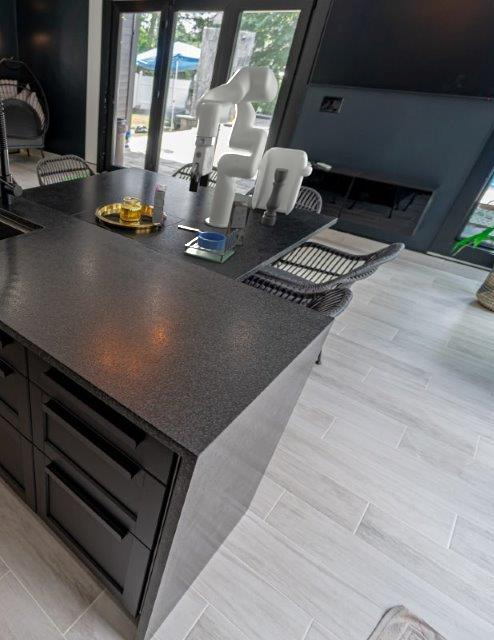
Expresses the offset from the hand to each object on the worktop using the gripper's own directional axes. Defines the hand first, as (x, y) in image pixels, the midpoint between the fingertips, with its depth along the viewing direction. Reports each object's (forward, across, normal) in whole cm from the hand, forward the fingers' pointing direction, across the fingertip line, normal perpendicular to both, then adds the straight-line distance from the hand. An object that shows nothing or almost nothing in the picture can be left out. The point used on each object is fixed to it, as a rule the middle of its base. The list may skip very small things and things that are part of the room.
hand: (198, 189), depth 158 cm
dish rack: (+23, -3, -10) cm, 25 cm away
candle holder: (+24, +51, -19) cm, 59 cm away
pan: (+19, -3, -5) cm, 21 cm away
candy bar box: (+24, +17, +25) cm, 38 cm away
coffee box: (+24, +17, -13) cm, 32 cm away
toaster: (+25, +76, -13) cm, 81 cm away
